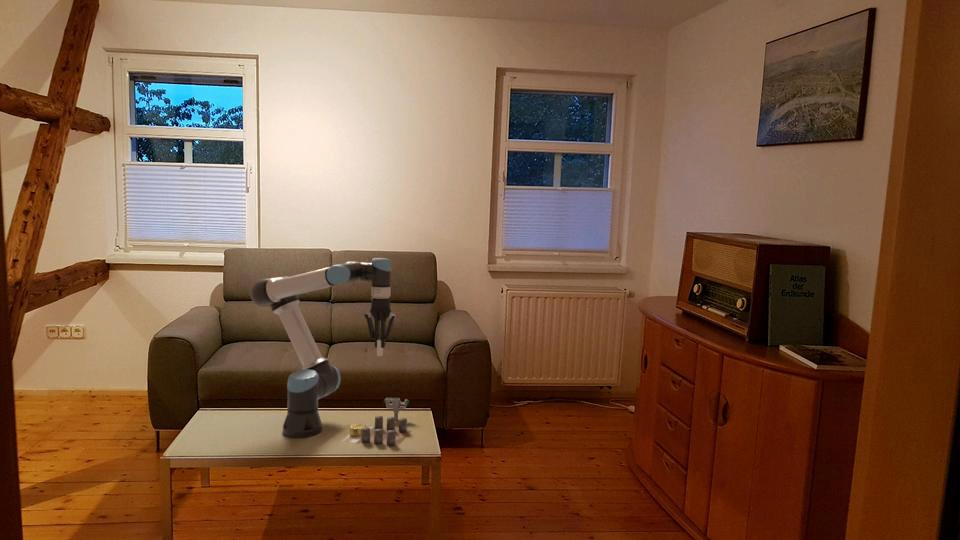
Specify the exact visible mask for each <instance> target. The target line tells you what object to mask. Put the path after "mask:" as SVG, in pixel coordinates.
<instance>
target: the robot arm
mask: <svg viewBox="0 0 960 540" xmlns="http://www.w3.org/2000/svg"><path fill="white" fill-rule="evenodd" d="M391 262H392V261H391V259H389V258H385V257H374V258H372V260H371V262H363V261H362V262H361V261H346V262H344V263H338V264H333V265H331V266H328V267H324V268H320V269H317V270H316V269H315V270H312V271H308V272H304V273H300V274H295V275H292V276H284V275H283V276H282V275H281V276H280V275H279V276H274V277H270V278H261V279H259V280H257V281H256V282H254V283H253V284H252V286H251V288H250V291H249V294H250V299H251V301H252V302H253V303H254V304H255V305H257V306H259V307H260V308H270V309H271V311H272V313H273V314H275V315H277V316H278V317H279V320H280V322H281V323H282V326H283V327H284V329H285V331H286V333H287V336H288V339H289V340H290V342H291V344H292V346H293V349H294V351H295V353H296V355H297V357H298V359H299V361H300V364H301V366H302V368H301V370H297V371H294V372H292V373H290V375H289V376H288V378H287V384H286V387H287V388H286V389H287V397H286V398H287V407H286V408H287V414H286V416H285V418H284V422H283V424H282V434H283V435H284V436H286V437H288V438H289V437H291V438H295V439H296V438H300V439H301V438H309V437H313V436H317V435H319V434H320V433H321V432H322V431H323V422H322V419H321V416H320V413H319V400H320V399H323V398H324V397H326V396H330V395H332V393H334V392H335V391H336V390H337V389H339V387H340V384H341V382H342V381H341V379H342V377H341V373H340V370H339V369H338V368H337V367H336V366H335V365H333V364H330V361H329V360H328V358H326V357H323V356H322V354H321V352H320V350H319V347H318V345H317V344H316V342H315V339H314V337H313V335H312V333H311V331H310V328H309V326H308V325H307V321H306V320H305V317H304V315H303V313H302V312H301V309H300V308H299V304H300V299H299V295H301V294H302V295H303V294H305V293H306V294H307V293H310V292H315V291H320V290H323V289H327V288H331V287H335V286H341V285H344V284H349V283H357V282H369V283H370V282H371V300H370V301H371V303H370V309H369V311H368V312H367V313H365V314H364V318H365V320H366V322H367V327H368V333H369V337H370V338H372V339H373V340H374V347H375V348H376V356H377V357H382V356H383V355H384V353H383V352H384V349H385V347H386V340H388V339H389V338H391V336H392V335H391V334H392V330H393V326H394V323H395V320H396V319H397V316H398V315H396V314H394V313H392V310H391V291H392V290H391V288H392V287H391V284H392V283H391V281H392V279H391V278H392V274H391V273H392V263H391ZM388 318H389V321H388V324H387V319H388ZM373 319H374V322H373ZM387 325H388V326H387Z"/></svg>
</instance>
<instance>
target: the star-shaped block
mask: <svg viewBox="0 0 960 540" xmlns="http://www.w3.org/2000/svg"><path fill="white" fill-rule="evenodd" d="M366 426H367V424H362V423H354V424H350V425H349V429H348V430H349V434H348V435H351V436H354V437H356V436H360V437H361V436H362V428H365V427H366Z"/></svg>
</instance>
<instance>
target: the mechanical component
mask: <svg viewBox="0 0 960 540" xmlns="http://www.w3.org/2000/svg"><path fill="white" fill-rule="evenodd" d="M409 401H410V400H409V399H407V398H406V399H404V401H401V398H399V397H386V398H384V399H383V404H385V407H386V409H389V410H390V409H393V410H392V412H393V415H394V416H393V417H394V418H395V422H396V421H399V412H400V410H405V409H406V408H407V405H408V404H409ZM390 402H391V403H390Z"/></svg>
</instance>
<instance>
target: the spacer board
mask: <svg viewBox="0 0 960 540" xmlns="http://www.w3.org/2000/svg"><path fill="white" fill-rule="evenodd" d="M395 427H396V421H395V418H394V416H388V417H386V427H384V417H383V416H382V415H376V416H374V426H367V425H366V427H365V428H362V436H361V437H360V436H356V437H354V436H351V435H349V434H348V435H347V436H345V438H343V439H342V440H341V442H343V443H353V444H363V445H372V446H381V447H392V448H398V447H399V446H400V445H401V444H402V442H403V441H404V440H405V439H406V438H407V437H408V436H409V434H411V432H412V430H407V429H408V419H407V418H405V417H400V418H398V429H397V428H395Z"/></svg>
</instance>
